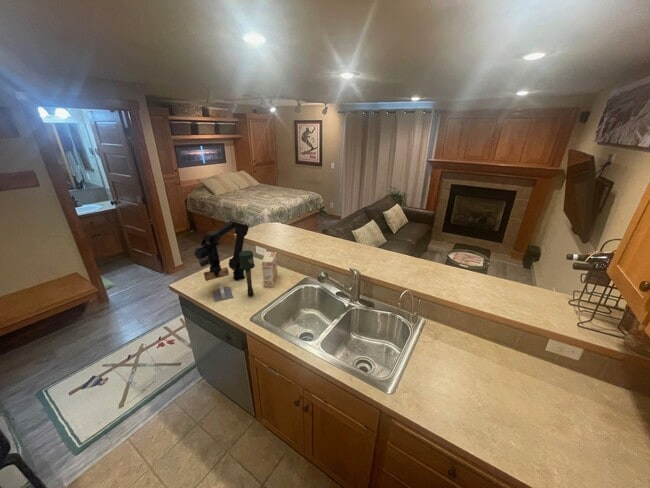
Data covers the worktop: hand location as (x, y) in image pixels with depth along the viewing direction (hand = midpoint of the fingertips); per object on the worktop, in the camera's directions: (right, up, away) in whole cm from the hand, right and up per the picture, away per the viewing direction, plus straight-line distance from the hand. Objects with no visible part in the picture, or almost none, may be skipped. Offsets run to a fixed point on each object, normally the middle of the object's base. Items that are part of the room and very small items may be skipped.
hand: (216, 275), depth 166 cm
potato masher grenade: (+22, -13, 0) cm, 25 cm away
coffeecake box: (+31, -6, +15) cm, 35 cm away
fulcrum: (+4, -12, 0) cm, 13 cm away
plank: (0, -1, 0) cm, 1 cm away
